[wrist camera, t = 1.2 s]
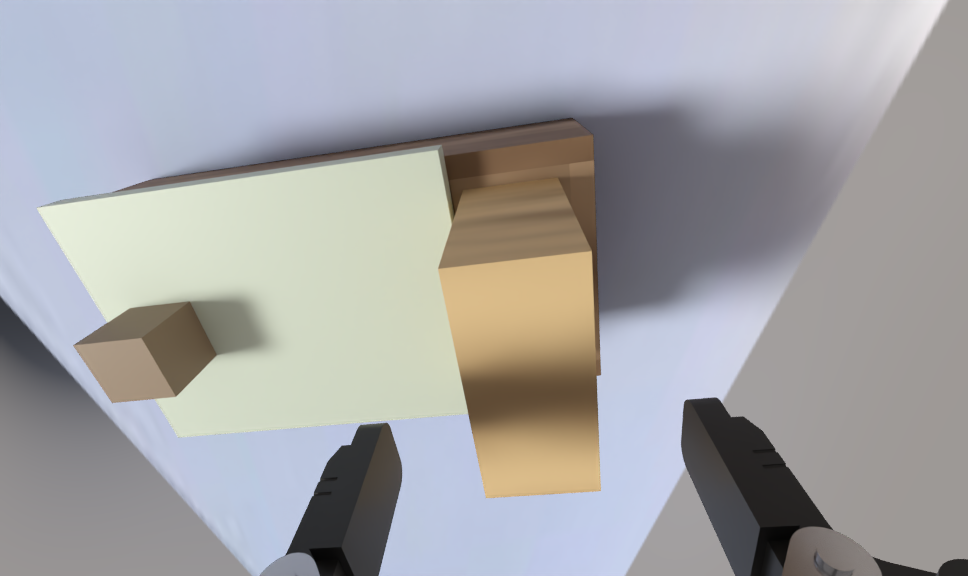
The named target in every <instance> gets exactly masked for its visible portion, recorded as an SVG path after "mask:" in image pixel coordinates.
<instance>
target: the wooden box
mask: <svg viewBox="0 0 968 576" xmlns="http://www.w3.org/2000/svg"><path fill="white" fill-rule="evenodd" d="M436 145H442V148H443V154H444V159H445V165H446V171H447V176H448V182H449V187H450V193H451V198H452V204H453V209H454V215H455V214H456V211H457V207H458V204H459V201H460V198H461V195H462V192H463V190H468V189H476V188H483V187H491V186H498V185H506V184H513V183H521V182H528V181H536V180H543V179H551V178H558V179H559V181H560V183H561V186H562V188H563V190H564V192H565V194H566V196H567V199H568V201H569V203H570V205H571V207H572V209H573V211H574V214H575V216H576V218H577V220H578V222H579V224H580V227H581V229H582V231H583V233H584V235H585V237H586V240H587V242H588V244H589V246H590V248H591V250H592V269H593V296H594V323H595V350H596V376H598V375H601V366H600V334H599V303H598V271H597V239H596V208H595V176H594V144H593V134H592V133H590V132H589V131H588V130H587V129H585V128H584V127H583V126H582V125H581V124H579V123H578V122H577V121H576V120H575V119H573V118H567V119H560V120H554V121H547V122H540V123H533V124H526V125H520V126H513V127H506V128H499V129H492V130H486V131H479V132H472V133H465V134H458V135H452V136H445V137H438V138H431V139H424V140H418V141H411V142H404V143H397V144H390V145H384V146H377V147H370V148H363V149H356V150H350V151H343V152H336V153H329V154H322V155H316V156H309V157H302V158H295V159H288V160H282V161H275V162H268V163H261V164H254V165H248V166H241V167H234V168H227V169H220V170H214V171H207V172H200V173H193V174H186V175H180V176H173V177H166V178H159V179H152V180H148V181H145V182H142V183H139V184H136V185H133V186H130V187H127V188H124V189H121V190H118V191H115V192H119V191H126V190H133V189H140V188H147V187H154V186H161V185H167V184H174V183H181V182H188V181H195V180H202V179H209V178H216V177H222V176H229V175H236V174H243V173H250V172H257V171H264V170H271V169H278V168H284V167H291V166H298V165H305V164H312V163H319V162H326V161H333V160H339V159H346V158H353V157H360V156H367V155H374V154H381V153H388V152H395V151H401V150H408V149H415V148H422V147H429V146H436Z"/></svg>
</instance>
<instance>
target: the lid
mask: <svg viewBox="0 0 968 576" xmlns="http://www.w3.org/2000/svg"><path fill="white" fill-rule="evenodd" d="M37 210H38V212H39V213H40V215H41V216H42V218H43V220H44V221H45V223H46V224H47V226H48V228H49V229H50V231H51V233H52V234H53V236H54V237H55V239H56V241H57V242H58V244H59V245H60V247H61V249H62V250H63V252H64V254H65V255H66V257H67V258H68V260H69V262H70V263H71V265H72V266H73V268H74V270H75V271H76V273H77V275H78V276H79V278H80V279H81V281H82V283H83V284H84V286H85V287H86V289H87V291H88V292H89V294H90V296H91V297H92V299H93V300H94V302H95V304H96V305H97V307H98V308H99V310H100V312H101V313H102V315H103V317H104V318H105V320H106V321H107V324H105V325H104V326H102V327H100V328H99V329H97V330H96V331H94V332H93V333H91V334H90V335H88V336H87V337H85V338H84V339H82V340H81V341H79V342H78V343H76V344H75V345H73V346H74V347H75V349H76V350H77V352H78V353H79V355H80V356H81V358H82V359H83V361H84V362H85V363H86V365H87V366H88V368H89V369H90V371H91V372H92V374H93V375H94V377H95V378H96V380H97V381H98V383H99V384H100V386H101V387H102V389H103V390H104V391H105V393H106V394H107V396H108V397H109V399H110V400H111V402H112V403H116V402H126V401H137V400H148V399H155V401H156V402H157V404H158V405H159V407H160V409H161V410H162V412H163V413H164V415H165V417H166V418H167V420H168V422H169V423H170V425H171V426H172V428H173V430H174V431H175V433H176V434H177V436H178V438H179V437H191V436H203V435H216V434H228V433H240V432H252V431H265V430H277V429H289V428H301V427H314V426H326V425H338V424H350V423H363V422H375V421H387V420H399V419H411V418H424V417H436V416H448V415H460V414H468V410H467V405H466V400H465V395H464V391H463V386H462V381H461V376H460V372H459V367H458V362H457V358H456V353H455V348H454V343H453V339H452V334H451V329H450V324H449V320H448V315H447V310H446V305H445V301H444V296H443V291H442V286H441V282H440V277H439V272H438V267H439V264H440V261H441V258H442V254H443V251H444V248H445V245H446V242H447V239H448V236H449V232H450V229H451V226H452V223H453V220H454V217H455V215H454V209H453V204H452V198H451V193H450V187H449V182H448V176H447V171H446V165H445V159H444V154H443V148H442V145H436V146H429V147H422V148H415V149H408V150H401V151H395V152H388V153H381V154H374V155H367V156H360V157H353V158H346V159H339V160H333V161H326V162H319V163H312V164H305V165H298V166H291V167H284V168H278V169H271V170H264V171H257V172H250V173H243V174H236V175H229V176H222V177H216V178H209V179H202V180H195V181H188V182H181V183H174V184H167V185H161V186H154V187H147V188H140V189H133V190H126V191H119V192H112V193H105V194H99V195H92V196H85V197H78V198H71V199H64V200H60V201H57V202H53V203H50V204H47V205H44V206H41V207H37Z"/></svg>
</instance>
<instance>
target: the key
mask: <svg viewBox="0 0 968 576" xmlns="http://www.w3.org/2000/svg"><path fill="white" fill-rule="evenodd" d="M438 272H439V277H440V282H441V286H442V291H443V296H444V301H445V305H446V310H447V315H448V320H449V324H450V329H451V334H452V339H453V343H454V348H455V353H456V358H457V362H458V367H459V372H460V376H461V381H462V386H463V391H464V395H465V400H466V405H467V410H468V414H469V419H470V424H471V429H472V433H473V438H474V443H475V448H476V452H477V457H478V462H479V467H480V471H481V476H482V481H483V486H484V490H485V495H486V498H496V497H512V496H529V495H545V494H561V493H577V492H593V491H601V484H600V457H599V430H598V403H597V376H596V350H595V323H594V296H593V269H592V250H591V248H590V246H589V244H588V242H587V240H586V237H585V235H584V233H583V231H582V229H581V227H580V224H579V222H578V220H577V218H576V216H575V214H574V211H573V209H572V207H571V205H570V203H569V201H568V199H567V196H566V194H565V192H564V190H563V188H562V186H561V183H560V181H559V179H558V178H551V179H543V180H536V181H528V182H521V183H513V184H506V185H498V186H491V187H483V188H476V189H468V190H463V192H462V195H461V198H460V201H459V204H458V207H457V211H456V214H455V217H454V220H453V223H452V226H451V229H450V232H449V236H448V239H447V242H446V245H445V248H444V251H443V254H442V258H441V261H440V264H439V267H438Z"/></svg>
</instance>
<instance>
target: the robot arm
mask: <svg viewBox="0 0 968 576" xmlns="http://www.w3.org/2000/svg"><path fill="white" fill-rule="evenodd" d="M681 448H682V454H683V459H684V462H685V465H686V468H687V470H688V472H689V474H690V477H691V479H692V481H693V483H694V485H695V488H696V489H697V492H698V494H699V496H700V499H701V501H702V503H703V505H704V507H705V510H706V512H707V514H708V516H709V519H710V521H711V523H712V525H713V527H714V530H715V532H716V534H717V536H718V538H719V541H720V543H721V545H722V547H723V549H724V552H725V554H726V556H727V558H728V560H729V562H730V565H731V567H732V569H733V571H734V574H735V576H968V560H966V559H954V560H950V561H947V562H946V563H944V564H943V565H942V566H941V567H940V569H939V571H938V573H937V574H936V573H932V572H927V571H923V570H919V569H915V568H911V567H906V566H902V565H898V564H893V563H890V562H886V561H882V560H880V559H877V558H874V557H872V556H871V555H870V554H869V553H868V552H867V551H866V550H865V549H864V548H863V547H862V546H861V545H859V544H858V543H856V542H855V541H854V540H852V539H850V538H849V537H847V536H845V535H843V534H841V533H839V532H836V531H834V530H833V529H832V528H831V527H830V525H829V524H828V523H827V521H826V520H825V519H824V517H823V516H822V514H821V513H820V512H819V510H818V509H817V507H816V506H815V504H814V503H813V502H812V500H811V499H810V498H809V496H808V495H807V493H806V492H805V490H804V489H803V487H802V486H801V485H800V483H799V482H798V480H797V479H796V478H795V476H794V475H793V473H792V472H791V471H790V469H789V468H788V467H786V465H785V464H786V463H785V462H784V461H783V459H782V458H781V456H780V455H779V454H778V453H777V452H776V451H775V448H774V446H773V445H772V444H771V442H770V441H769V439H768V438H767V437H766V435H765V434H764V432H763V431H762V430H761V429H759V428H758V427H756V426H755V425H754V424H753V423H751V422H750V421H749V420H747V419H746V418H745V417H730V415H729V414H728V412H727V411H726V409H725V407H724V406H723V404H722V403H721V401H720V400H719V399H718V398H703V399H691V400H686V401H685V402H684V410H683V424H682V437H681ZM401 482H402V465H401V460H400V457H399V454H398V451H397V447H396V444H395V441H394V438H393V435H392V431H391V428H390V426H389V424H388V423H380V424H367V425H360V426H359V427H358V429H357V431H356V434H355V436H354V439H353V441H352V444H351V445H346V446H341V447H340V448H339V450H338V451H337V452H336V453H335V454H334V455H333V456H332V457H331V458H330V460H329V461H328V462H327V465H326V467H325V469H324V471H323V474H322V476H321V478H320V482H318V485H317V487H316V489H315V491H314V496H312V498H311V500H310V502H309V505H308V507H307V509H306V511H305V514H304V516H303V518H302V520H301V523H300V525H299V527H298V529H297V531H296V534H295V536H294V538H293V540H292V543H291V545H290V547H289V549H288V551H287V553H286V555H285V556H283V557H281V558H279V559H277V560H276V561H274V562H273V563H271V564H270V565H269V566H268V567H267V568H266V569H265V570H264V571H263V572H262V573H261V574H260V576H378V575H379V571H380V567H381V563H382V559H383V555H384V551H385V547H386V543H387V539H388V535H389V531H390V527H391V523H392V519H393V515H394V511H395V507H396V503H397V499H398V495H399V491H400V487H401Z"/></svg>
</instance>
